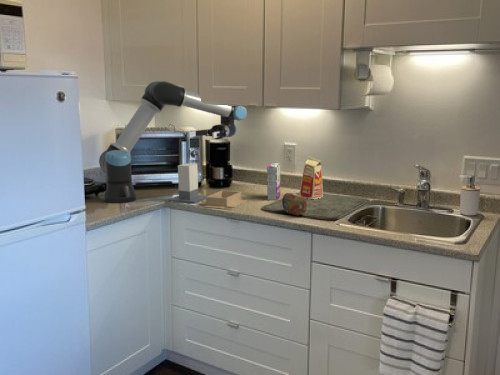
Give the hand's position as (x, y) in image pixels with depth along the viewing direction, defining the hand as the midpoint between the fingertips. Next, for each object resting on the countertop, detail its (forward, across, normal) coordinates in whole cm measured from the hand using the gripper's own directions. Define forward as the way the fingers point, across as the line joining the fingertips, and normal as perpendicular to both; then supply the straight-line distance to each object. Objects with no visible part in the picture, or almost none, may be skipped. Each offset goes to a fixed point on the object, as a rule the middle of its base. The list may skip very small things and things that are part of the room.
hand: (200, 135), depth 255 cm
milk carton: (-12, -54, -30) cm, 63 cm away
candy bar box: (-4, -37, -30) cm, 48 cm away
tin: (+22, -56, -30) cm, 67 cm away
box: (+14, 0, -29) cm, 32 cm away
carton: (+14, -19, -30) cm, 38 cm away
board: (+14, 0, -30) cm, 33 cm away
